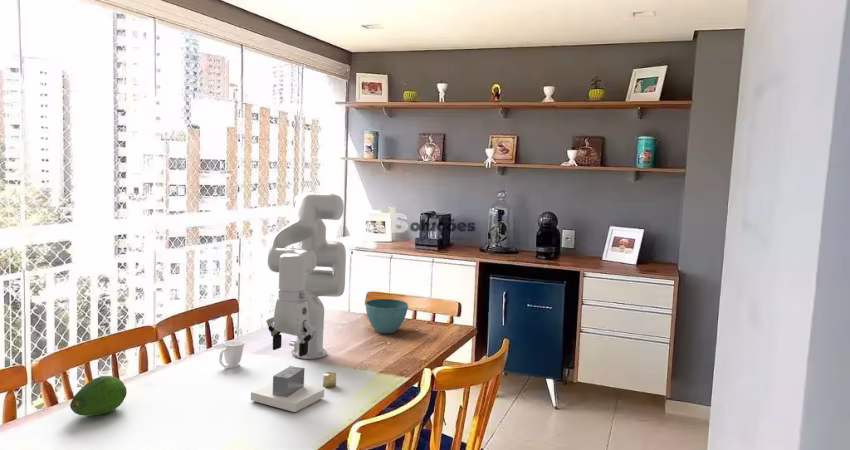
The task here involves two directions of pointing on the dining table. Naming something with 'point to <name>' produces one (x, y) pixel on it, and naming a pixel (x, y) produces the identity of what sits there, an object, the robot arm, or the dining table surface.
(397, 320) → the teal bowl
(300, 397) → the stand
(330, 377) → the cylinder
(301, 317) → the robot arm
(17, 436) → the dining table surface
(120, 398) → the fruit
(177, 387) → the dining table surface
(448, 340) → the dining table surface
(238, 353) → the cup
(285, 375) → the block
